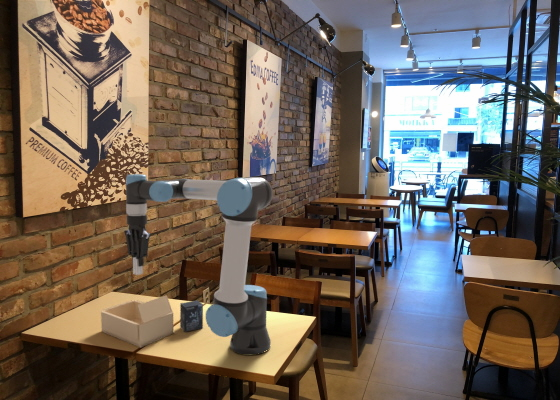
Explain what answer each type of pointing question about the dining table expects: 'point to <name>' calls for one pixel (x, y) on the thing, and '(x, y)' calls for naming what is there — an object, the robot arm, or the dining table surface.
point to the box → (191, 315)
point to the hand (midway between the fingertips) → (138, 273)
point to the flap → (154, 309)
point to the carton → (134, 324)
